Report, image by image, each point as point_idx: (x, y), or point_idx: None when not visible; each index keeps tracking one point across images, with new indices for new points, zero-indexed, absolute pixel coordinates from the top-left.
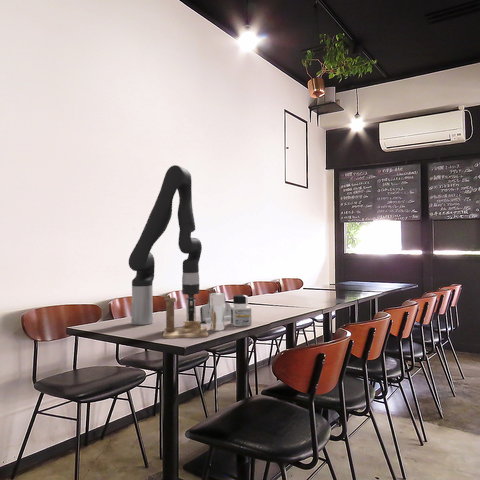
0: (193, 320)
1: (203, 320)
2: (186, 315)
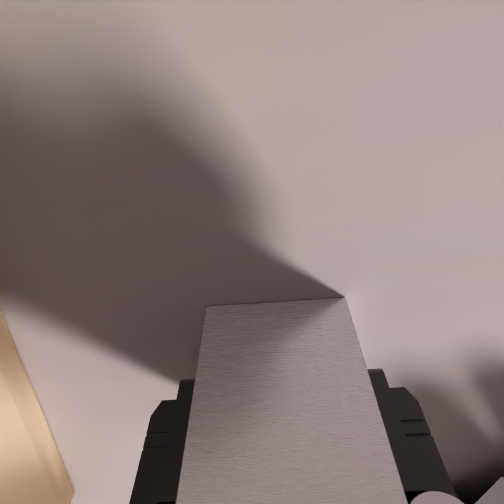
0: None
1: (496, 497)
2: (377, 421)
